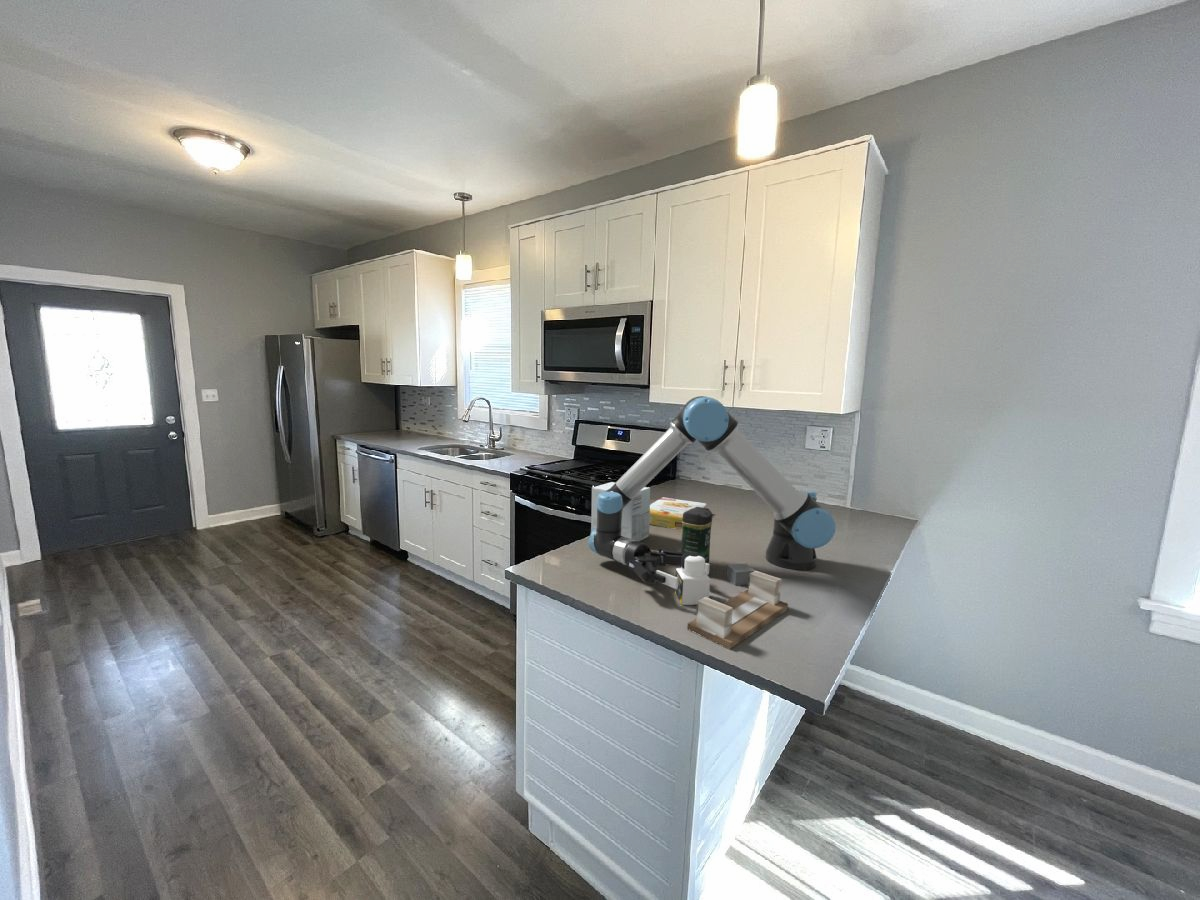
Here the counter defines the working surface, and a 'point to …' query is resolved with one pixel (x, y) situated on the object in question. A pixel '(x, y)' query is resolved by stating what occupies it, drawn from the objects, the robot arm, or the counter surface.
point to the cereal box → (670, 512)
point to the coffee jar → (696, 531)
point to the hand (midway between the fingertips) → (693, 576)
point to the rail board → (740, 611)
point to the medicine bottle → (692, 579)
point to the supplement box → (627, 513)
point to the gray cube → (739, 573)
